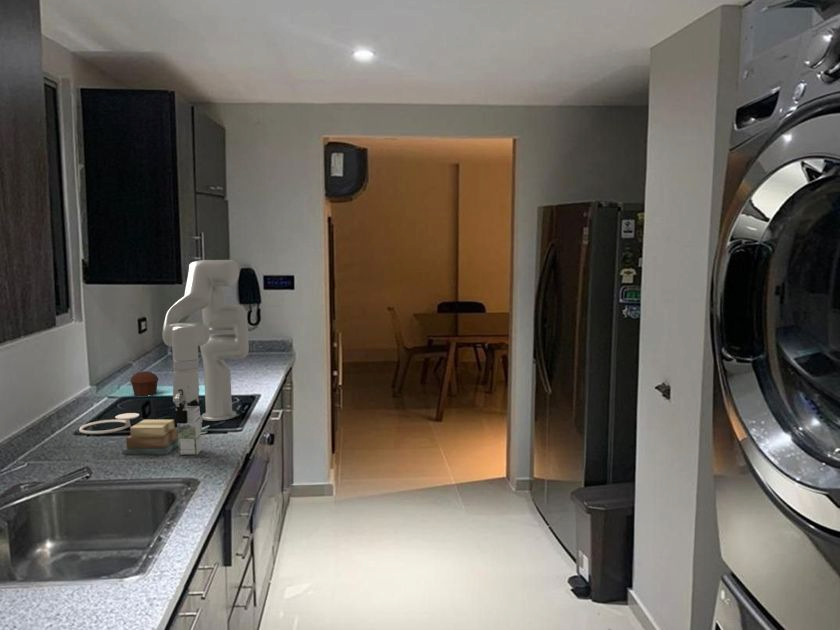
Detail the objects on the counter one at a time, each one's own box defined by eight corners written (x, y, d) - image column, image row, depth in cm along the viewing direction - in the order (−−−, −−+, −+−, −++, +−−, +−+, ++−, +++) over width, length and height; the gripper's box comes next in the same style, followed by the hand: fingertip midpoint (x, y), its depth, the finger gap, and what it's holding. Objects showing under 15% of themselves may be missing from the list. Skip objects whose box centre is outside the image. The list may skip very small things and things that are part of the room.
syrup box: (202, 449, 226) (200, 405, 224) (197, 455, 220) (194, 409, 218) (184, 450, 225) (181, 405, 224) (178, 455, 220) (176, 410, 218)
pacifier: (207, 435, 243) (210, 430, 249) (206, 417, 242) (209, 413, 248) (185, 436, 242) (189, 431, 248) (184, 418, 241) (188, 413, 247)
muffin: (164, 392, 312) (162, 369, 311) (152, 397, 301) (150, 374, 300) (138, 391, 313) (137, 369, 312) (125, 397, 302) (124, 374, 301)
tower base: (142, 441, 236) (141, 417, 235) (183, 441, 235) (182, 418, 234) (122, 454, 222) (121, 429, 221) (166, 454, 221) (164, 429, 220)
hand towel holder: (88, 411, 261) (146, 409, 263) (89, 423, 261) (146, 421, 263) (70, 423, 244) (131, 421, 246) (71, 435, 245) (132, 433, 246)
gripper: (184, 361, 228) (187, 413, 230) (162, 370, 211) (165, 426, 213) (207, 360, 228) (209, 413, 229) (187, 369, 211) (189, 426, 212)
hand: (188, 419), depth 221 cm, fingers open, 9 cm apart
